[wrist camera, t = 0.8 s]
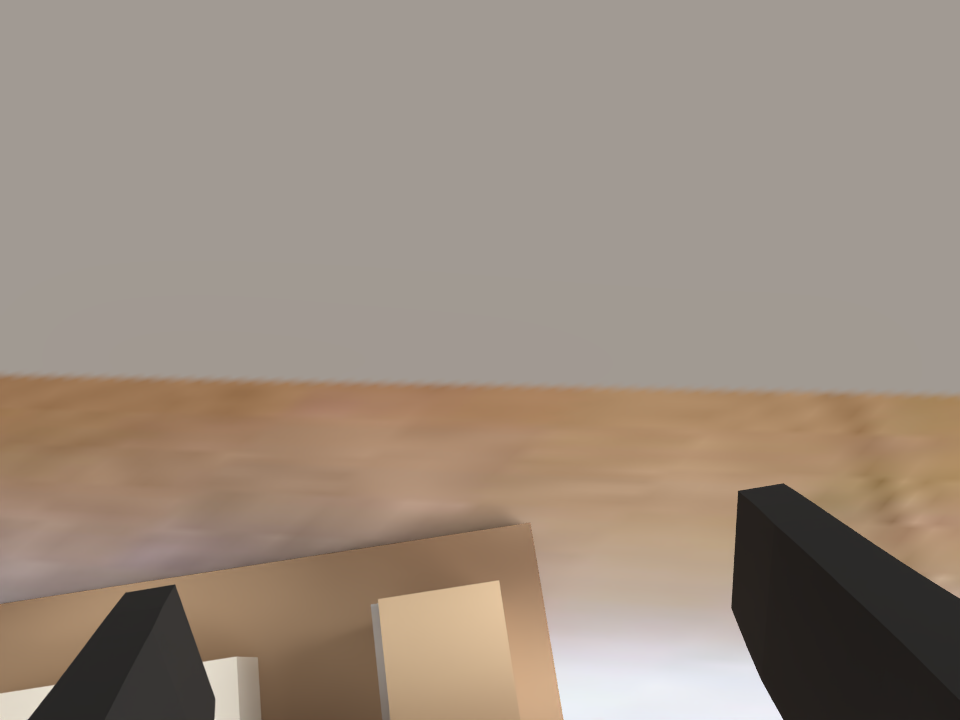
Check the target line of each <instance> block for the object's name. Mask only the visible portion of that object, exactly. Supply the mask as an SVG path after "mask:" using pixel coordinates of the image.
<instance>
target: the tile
mask: <svg viewBox="0 0 960 720" xmlns="http://www.w3.org/2000/svg"><path fill="white" fill-rule="evenodd" d="M203 665H204V668H205V670H206V673H207V676H208V679H209V682H210V685H211V687H212V690H213V693H214V696H215V699H216V701H215V718H214V720H261V704H260V686H259V669H258V657H231V658H224V659H218V660H211V661H205V662H203ZM53 687H54V685H52V686H45V687H39V688H32V689H26V690H20V691H13V692H7V693H0V720H28V719H29V717H30V716H31V715H32V713H33V712H34V711H35V710H36V708H37V707H38V706H39V705H40V703H41V702H42V701H43V699H44V698H45V697H46V696H47V694H48V693H49V692H50V691H51V689H52V688H53Z"/></svg>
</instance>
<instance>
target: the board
mask: <svg viewBox="0 0 960 720" xmlns="http://www.w3.org/2000/svg"><path fill="white" fill-rule="evenodd" d="M498 580H499V583H500V590H501V596H502V603H503V609H504V616H505V622H506V629H507V636H508V642H509V649H510V655H511V662H512V669H513V675H514V682H515V688H516V695H517V701H518V708H519V715H520V720H563V715H562V709H561V703H560V697H559V691H558V685H557V679H556V673H555V667H554V661H553V655H552V649H551V643H550V637H549V631H548V625H547V619H546V613H545V607H544V601H543V595H542V589H541V583H540V577H539V571H538V565H537V559H536V554H535V548H534V542H533V536H532V530H531V524H530V523H524V524H518V525H511V526H505V527H498V528H492V529H485V530H479V531H472V532H466V533H459V534H453V535H446V536H440V537H433V538H427V539H420V540H414V541H407V542H401V543H394V544H388V545H381V546H375V547H368V548H362V549H355V550H349V551H342V552H336V553H329V554H323V555H316V556H310V557H303V558H296V559H290V560H283V561H277V562H270V563H264V564H257V565H251V566H244V567H238V568H231V569H225V570H218V571H212V572H205V573H199V574H192V575H186V576H179V577H173V578H166V579H160V580H153V581H147V582H140V583H134V584H127V585H121V586H114V587H108V588H101V589H95V590H88V591H82V592H75V593H69V594H62V595H56V596H49V597H43V598H36V599H30V600H23V601H17V602H10V603H4V604H0V693H7V692H13V691H20V690H26V689H32V688H39V687H45V686H52V685H55V684H56V683H57V681H58V680H59V679H60V677H61V676H62V675H63V673H64V672H65V671H66V670H67V668H68V667H69V666H70V664H71V663H72V662H73V660H74V659H75V658H76V656H77V655H78V654H79V652H80V651H81V650H82V648H83V647H84V646H85V644H86V643H87V642H88V640H89V639H90V638H91V636H92V635H93V634H94V632H95V631H96V630H97V628H98V627H99V626H100V624H101V623H102V622H103V620H104V619H105V618H106V616H107V615H108V614H109V613H110V611H111V610H112V609H113V608H114V606H115V605H116V604H117V603H118V601H119V600H120V599H121V597H122V596H123V595H124V594H125V593H126V592H132V591H138V590H144V589H150V588H156V587H162V586H168V585H174V584H175V585H176V588H177V591H178V594H179V597H180V599H181V602H182V605H183V608H184V611H185V614H186V616H187V619H188V622H189V625H190V628H191V631H192V633H193V636H194V639H195V642H196V645H197V648H198V651H199V653H200V656H201V659H202V662H205V661H211V660H218V659H224V658H231V657H258V669H259V686H260V704H261V720H382V712H381V702H380V692H379V682H378V672H377V662H376V653H375V643H374V633H373V623H372V613H371V604H377V603H378V599H382V598H388V597H395V596H401V595H408V594H414V593H421V592H427V591H433V590H440V589H446V588H453V587H459V586H466V585H472V584H479V583H485V582H491V581H498Z"/></svg>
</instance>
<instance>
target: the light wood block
mask: <svg viewBox="0 0 960 720" xmlns="http://www.w3.org/2000/svg"><path fill="white" fill-rule="evenodd" d="M371 613H372V623H373V633H374V643H375V653H376V662H377V672H378V682H379V692H380V702H381V712H382V720H520V715H519V708H518V701H517V695H516V688H515V682H514V675H513V669H512V662H511V655H510V649H509V642H508V636H507V629H506V622H505V616H504V609H503V603H502V596H501V590H500V583H499V580H498V581H491V582H485V583H479V584H472V585H466V586H459V587H453V588H446V589H440V590H433V591H427V592H421V593H414V594H408V595H401V596H395V597H388V598H382V599H378V603H377V604H371Z"/></svg>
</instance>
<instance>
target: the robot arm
mask: <svg viewBox="0 0 960 720" xmlns="http://www.w3.org/2000/svg"><path fill="white" fill-rule="evenodd" d="M731 608H732V611H733V613H734V616H735V618H736V621H737V623H738V626H739V628H740V631H741V633H742V636H743V638H744V641H745V643H746V646H747V648H748V650H749V653H750V655H751V657H752V660H753V662H754V664H755V667H756V669H757V671H758V673H759V676H760V678H761V680H762V682H763V684H764V686H765V688H766V689H767V691H768V693H769V695H770V697H771V698H772V700H773V702H774V704H775V706H776V707H777V709H778V711H779V713H780V714H781V716H782V718H783V720H960V598H958V597H956V596H955V595H953V594H951V593H950V592H948V591H946V590H945V589H943V588H942V587H940V586H938V585H937V584H935V583H934V582H932V581H930V580H929V579H927V578H926V577H924V576H922V575H921V574H919V573H918V572H916V571H915V570H913V569H911V568H910V567H908V566H907V565H905V564H904V563H902V562H901V561H899V560H898V559H896V558H894V557H893V556H891V555H890V554H888V553H887V552H885V551H884V550H882V549H881V548H879V547H878V546H876V545H875V544H873V543H872V542H870V541H869V540H867V539H866V538H864V537H863V536H861V535H860V534H858V533H857V532H855V531H854V530H853V529H851V528H850V527H848V526H847V525H845V524H844V523H842V522H841V521H839V520H838V519H836V518H835V517H833V516H832V515H830V514H829V513H827V512H826V511H825V510H823V509H822V508H820V507H819V506H817V505H816V504H814V503H813V502H811V501H810V500H808V499H807V498H805V497H804V496H802V495H801V494H799V493H798V492H796V491H795V490H793V489H791V488H790V487H788V486H787V485H785V484H784V483H783V484H777V485H771V486H765V487H759V488H753V489H747V490H741V491H738V504H737V521H736V538H735V555H734V573H733V590H732V607H731ZM215 701H216V699H215V696H214V693H213V690H212V687H211V685H210V682H209V679H208V676H207V673H206V670H205V668H204V665H203V662H202V659H201V656H200V653H199V651H198V648H197V645H196V642H195V639H194V636H193V633H192V631H191V628H190V625H189V622H188V619H187V616H186V614H185V611H184V608H183V605H182V602H181V599H180V597H179V594H178V591H177V588H176V585H175V584H174V585H168V586H162V587H156V588H150V589H144V590H138V591H132V592H126V593H125V594H124V595H123V596H122V597H121V599H120V600H119V601H118V603H117V604H116V605H115V606H114V608H113V609H112V610H111V611H110V613H109V614H108V615H107V616H106V618H105V619H104V620H103V622H102V623H101V624H100V626H99V627H98V628H97V630H96V631H95V632H94V634H93V635H92V636H91V638H90V639H89V640H88V642H87V643H86V644H85V646H84V647H83V648H82V650H81V651H80V652H79V654H78V655H77V656H76V658H75V659H74V660H73V662H72V663H71V664H70V666H69V667H68V668H67V670H66V671H65V672H64V673H63V675H62V676H61V677H60V679H59V680H58V681H57V683H56V684H55V685H54V687H53V688H52V689H51V691H50V692H49V693H48V694H47V696H46V697H45V698H44V699H43V701H42V702H41V703H40V705H39V706H38V707H37V708H36V710H35V711H34V712H33V713H32V715H31V716H30V717H29V719H28V720H214V718H215Z"/></svg>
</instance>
